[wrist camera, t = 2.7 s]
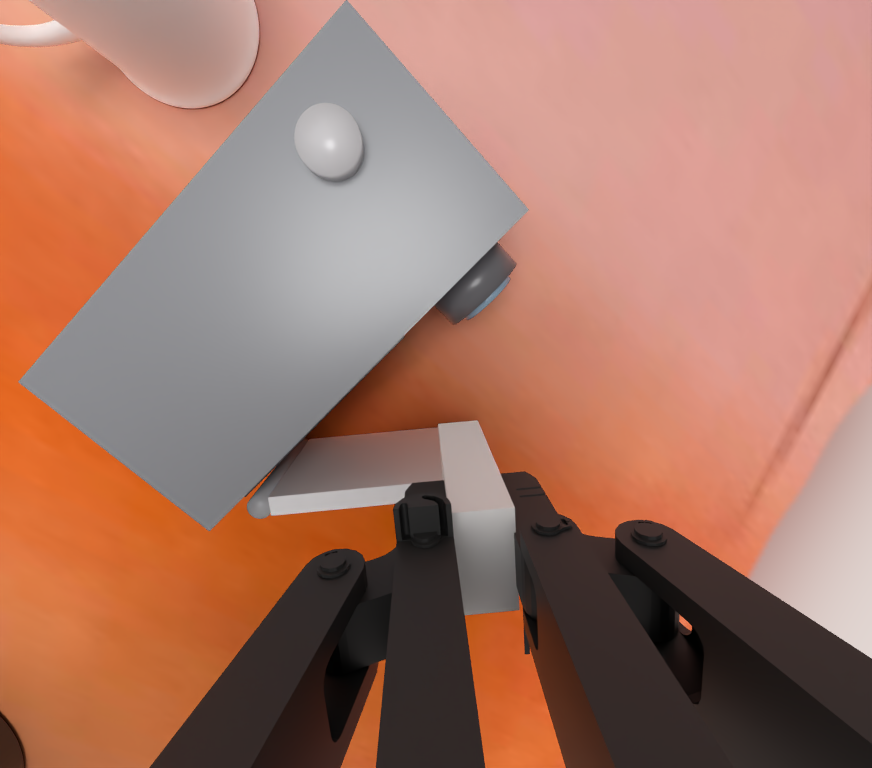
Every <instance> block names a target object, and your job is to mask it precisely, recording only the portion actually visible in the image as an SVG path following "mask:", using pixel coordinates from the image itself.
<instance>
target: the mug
mask: <svg viewBox="0 0 872 768" xmlns="http://www.w3.org/2000/svg"><path fill="white" fill-rule="evenodd" d="M29 1H30V2H32V3H33V4H34V5H36V6H37V7H38V8H40V9H41V10H42V11H44V12H45V13H46V14H48V15H49V16H50V17H52V18H53V19H54V20H53V21H51V22H47V23H43V24H37V25H26V26H14V25H3V24H0V44H5V45H11V46H20V47H50V46H58V45H64V44H69V43H73V42H77V41H81V40H82V41H84V42H85V43H86V44H88V45H89V46H90V47H92V48H93V49H94V50H96V51H97V52H98V53H100V54H101V55H102V56H104V57H105V58H106V59H108V60H109V61H110V62H112V63H113V64H114V65H116V66H117V67H118V68H119V69H120V70H121V71H122V72H123V73H124V74H125V76H126V77H127V78H128V79H129V80H130V81H131V82H132V83H133V84H134V85H136V86H137V87H138V88H139V89H140V90H142V91H143V92H144V93H146V94H147V95H149V96H151V97H152V98H154V99H156V100H158V101H160V102H163V103H165V104H168V105H171V106H175V107H180V108H203V107H208V106H212V105H215V104H217V103H219V102H221V101H223V100H225V99H227V98H228V97H230V96H231V95H232V94H233V93H235V92H236V91H237V90H238V89H239V88H240V87H241V85H242V84H243V83H244V82H245V80H246V79H247V77H248V75H249V74H250V72H251V70H252V67H253V65H254V62H255V59H256V56H257V51H258V45H259V21H258V14H257V9H256V5H255V2H254V0H29Z"/></svg>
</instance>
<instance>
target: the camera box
mask: <svg viewBox="0 0 872 768" xmlns="http://www.w3.org/2000/svg"><path fill="white" fill-rule="evenodd" d="M528 210H529V209H528V208H527V207H526V206H525V205H524V204H523V203H522V201H521V200H520V199H519V198H518V197H517V196H516V194H515V193H514V192H513V191H512V190H511V189H510V188H509V186H508V185H507V184H506V183H505V182H504V181H503V179H502V178H501V177H500V176H499V175H498V174H497V173H496V171H495V170H494V169H493V168H492V167H491V166H490V164H489V163H488V162H487V161H486V160H485V159H484V158H483V156H482V155H481V154H480V153H479V152H478V151H477V150H476V148H475V147H474V146H473V145H472V144H471V143H470V141H469V140H468V139H467V138H466V137H465V136H464V135H463V133H462V132H461V131H460V130H459V129H458V128H457V126H456V125H455V124H454V123H453V122H452V121H451V120H450V118H449V117H448V116H447V115H446V114H445V113H444V111H443V110H442V109H441V108H440V107H439V106H438V105H437V103H436V102H435V101H434V100H433V99H432V98H431V96H430V95H429V94H428V93H427V92H426V91H425V90H424V88H423V87H422V86H421V85H420V84H419V83H418V81H417V80H416V79H415V78H414V77H413V76H412V75H411V73H410V72H409V71H408V70H407V69H406V68H405V66H404V65H403V64H402V63H401V62H400V61H399V60H398V58H397V57H396V56H395V55H394V54H393V53H392V51H391V50H390V49H389V48H388V47H387V46H386V45H385V43H384V42H383V41H382V40H381V39H380V38H379V37H378V35H377V34H376V33H375V32H374V31H373V30H372V28H371V27H370V26H369V25H368V24H367V23H366V22H365V20H364V19H363V18H362V17H361V16H360V15H359V13H358V12H357V11H356V10H355V9H354V8H353V7H352V5H351V4H350V3H349V2H348V1H347V0H346V1H345V2H344V3H343V4H342V5H341V7H340V8H339V9H338V10H337V11H336V12H335V14H334V15H333V16H332V17H331V18H330V19H329V21H328V22H327V23H326V24H325V25H324V26H323V28H322V29H321V30H320V31H319V32H318V33H317V35H316V36H315V37H314V38H313V39H312V40H311V42H310V43H309V44H308V45H307V46H306V47H305V49H304V50H303V51H302V52H301V53H300V54H299V56H298V57H297V58H296V59H295V60H294V61H293V63H292V64H291V65H290V66H289V67H288V68H287V70H286V71H285V72H284V73H283V74H282V75H281V77H280V78H279V79H278V80H277V81H276V82H275V84H274V85H273V86H272V87H271V88H270V89H269V91H268V92H267V93H266V94H265V95H264V96H263V98H262V99H261V100H260V101H259V102H258V103H257V105H256V106H255V107H254V108H253V109H252V110H251V111H250V113H249V114H248V115H247V116H246V117H245V118H244V120H243V121H242V122H241V123H240V124H239V125H238V127H237V128H236V129H235V130H234V131H233V132H232V134H231V135H230V136H229V137H228V138H227V139H226V141H225V142H224V143H223V144H222V145H221V146H220V148H219V149H218V150H217V151H216V152H215V153H214V155H213V156H212V157H211V158H210V159H209V160H208V162H207V163H206V164H205V165H204V166H203V167H202V169H201V170H200V171H199V172H198V173H197V174H196V176H195V177H194V178H193V179H192V180H191V181H190V183H189V184H188V185H187V186H186V187H185V188H184V190H183V191H182V192H181V193H180V194H179V195H178V197H177V198H176V199H175V200H174V201H173V202H172V204H171V205H170V206H169V207H168V208H167V209H166V210H165V212H164V213H163V214H162V215H161V216H160V217H159V219H158V220H157V221H156V222H155V223H154V224H153V226H152V227H151V228H150V229H149V230H148V231H147V233H146V234H145V235H144V236H143V237H142V238H141V240H140V241H139V242H138V243H137V244H136V245H135V247H134V248H133V249H132V250H131V251H130V252H129V254H128V255H127V256H126V257H125V258H124V259H123V261H122V262H121V263H120V264H119V265H118V266H117V268H116V269H115V270H114V271H113V272H112V273H111V275H110V276H109V277H108V278H107V279H106V280H105V282H104V283H103V284H102V285H101V286H100V287H99V289H98V290H97V291H96V292H95V293H94V294H93V296H92V297H91V298H90V299H89V300H88V301H87V303H86V304H85V305H84V306H83V307H82V308H81V310H80V311H79V312H78V313H77V314H76V315H75V316H74V318H73V319H72V320H71V321H70V322H69V323H68V325H67V326H66V327H65V328H64V329H63V330H62V332H61V333H60V334H59V335H58V336H57V337H56V339H55V340H54V341H53V342H52V343H51V344H50V346H49V347H48V348H47V349H46V350H45V351H44V353H43V354H42V355H41V356H40V357H39V358H38V360H37V361H36V362H35V363H34V364H33V365H32V367H31V368H30V369H29V370H28V371H27V372H26V374H25V375H24V376H23V377H22V378H21V379H20V381H19V383H20V384H21V385H23V386H24V387H25V388H27V389H28V390H29V391H30V392H32V393H33V394H34V395H36V396H37V397H38V398H39V399H41V400H42V401H43V402H45V403H46V404H47V405H48V406H50V407H51V408H52V409H53V410H55V411H56V412H57V413H59V414H60V415H61V416H62V417H64V418H65V419H66V420H68V421H69V422H70V423H71V424H73V425H74V426H75V427H76V428H78V429H79V430H80V431H82V432H83V433H84V434H85V435H87V436H88V437H89V438H91V439H92V440H93V441H94V442H96V443H97V444H98V445H100V446H101V447H102V448H103V449H105V450H106V451H107V452H108V453H110V454H111V455H112V456H114V457H115V458H116V459H117V460H119V461H120V462H121V463H123V464H124V465H125V466H126V467H128V468H129V469H130V470H131V471H133V472H134V473H135V474H137V475H138V476H139V477H140V478H142V479H143V480H144V481H146V482H147V483H148V484H149V485H151V486H152V487H153V488H154V489H156V490H157V491H158V492H160V493H161V494H162V495H163V496H165V497H166V498H167V499H169V500H170V501H171V502H172V503H174V504H175V505H176V506H178V507H179V508H180V509H181V510H183V511H184V512H185V513H186V514H188V515H189V516H190V517H192V518H193V519H194V520H195V521H197V522H198V523H199V524H201V525H202V526H203V527H204V528H206V529H207V530H208V531H210V530H211V529H212V528H213V527H214V526H215V525H216V524H217V523H218V522H219V521H220V520H221V519H222V518H223V517H224V516H225V515H226V514H227V513H228V512H229V511H230V510H231V509H232V508H233V507H234V506H235V505H236V504H237V503H238V502H239V501H240V500H241V499H242V498H243V497H244V496H245V497H246V496H247V495H248V494H249V493H250V492H251V491H252V490H253V489H254V488H255V487H256V486H257V485H258V484H259V483H260V482H261V481H262V480H263V479H264V478H265V477H266V476H267V475H268V474H269V473H270V472H271V471H272V470H273V469H274V468H275V467H276V466H277V465H278V464H279V463H280V462H281V461H282V460H283V459H284V458H285V457H286V456H287V455H288V454H289V453H290V452H291V451H292V450H293V449H294V448H295V447H296V446H297V445H298V444H299V443H300V442H301V441H302V440H303V439H304V438H305V437H306V436H307V435H308V434H309V433H310V432H311V431H312V430H313V429H314V428H315V427H316V426H317V425H318V424H319V423H320V422H321V421H322V420H323V419H324V418H325V416H326V415H327V414H328V413H329V412H330V411H331V410H332V409H333V408H334V407H335V406H336V405H337V404H338V403H339V402H340V401H341V400H342V399H343V398H344V397H345V396H346V395H347V394H348V393H349V392H350V391H351V390H352V389H353V388H354V387H355V386H356V385H357V384H358V383H359V382H360V381H361V380H362V379H363V378H364V377H365V376H366V375H367V374H368V373H369V372H370V371H371V370H372V369H373V368H374V367H375V366H376V365H377V364H378V363H379V362H380V361H381V360H382V359H383V358H384V357H385V356H386V355H387V354H388V353H389V352H390V351H391V350H392V349H393V348H394V347H395V346H396V345H397V344H398V343H399V342H400V341H401V340H402V339H403V338H404V337H405V334H406V333H407V332H408V331H409V330H410V329H411V328H412V327H413V326H414V325H415V324H416V323H417V322H418V321H419V320H420V319H421V318H422V317H423V316H424V315H425V314H426V313H427V312H428V311H429V310H430V309H431V308H432V307H433V306H435V307H436V308H437V309H438V310H439V311H440V312H441V313H442V314H443V315H444V316H445V317H446V318H447V319H448V320H449V321H450V322H451V323H452V324H453V325H455V324H457V323H458V322H460V321H461V320H463V319H464V318H466V319H467V320H469V319H471V318H473V317H474V316H475V315H477V314H478V313H479V312H480V311H482V310H483V309H484V308H485V307H486V306H487V305H488V304H489V303H490V302H492V301H493V300H494V299H495V298H496V297H497V296H498V294H499V293H500V292H501V291H502V290H503V289H504V288H505V287H506V285H507V284H508V283H509V281H510V278H509V275H510V273H511V272H512V271H513V269H514V268H515V266H516V262H515V261H514V260H513V259H512V258H511V257H510V256H509V255H508V254H507V252H506V251H505V250H504V249H503V248H502V247H501V246H500V245H499V244H498V242H497V241H498V240H499V239H500V238H501V237H502V236H503V235H504V234H505V233H506V232H507V231H508V230H509V229H510V228H511V227H512V226H513V225H514V224H515V223H516V222H517V221H518V220H519V219H520V218H521V217H522V216H523V215H524V214H525V213H526V212H527V211H528Z"/></svg>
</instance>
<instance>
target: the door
mask: <svg viewBox="0 0 872 768" xmlns="http://www.w3.org/2000/svg"><path fill="white" fill-rule="evenodd" d="M439 480H443V477H442V465H441V453H440V441H439V429H438V427H435V428H424V429H413V430H402V431H391V432H380V433H369V434H358V435H348V436H337V437H326V438H315V439H309V440H308V439H305V438H304V439H303V440H302V441H301V442H300V443H299V444H298V445H297V446H296V447H295V448H294V449H293V450H292V451H291V452H290V453H289V454H288V455H287V456H286V457H285V458H284V459H283V460H282V461H281V462H280V463H279V464H278V465H277V466H276V467H275V469H274V470H273V471H272V473H271V474H270V475H269V476H268V478H267V479H266V480H265V481H264V483H263V484H262V485H261V486H260V488H259V489H258V490H257V491H256V493H255V494H254V495H253V497H252V498H251V499H250V500H249V502H248V504H247V510H248V512H249V514H250V515H251V516H253V517H255V518H258V519H262V518H265V517H267V516H269V514H270V513H271V516H274V515H285V514H295V513H305V512H316V511H326V510H337V509H347V508H357V507H368V506H378V505H388V504H396V503H397V502H398V501H400V500H401V499H402V498H404V497H405V491H406V489H407V488H408V487H409V486H410V485H411V484H412V483H416V482H428V481H439Z"/></svg>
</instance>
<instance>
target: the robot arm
mask: <svg viewBox="0 0 872 768" xmlns="http://www.w3.org/2000/svg"><path fill="white" fill-rule="evenodd" d="M438 429H439V441H440V453H441V465H442V477H443V480H439V481H428V482H416V483H412V484H411V485H410V486H409V487H408V488H407V489H406V491H405V497H404V498H402V499H401V500H400V501H398V502H397V503H396V504H395V506H394V508H393V513H394V522H395V531H396V539H397V544H396V548H394V549H393V550H392V551H391V552H389V553H387V554H386V555H384V556H382V557H379V558H376V559H373V560H370V561H367V562H365V560H364V558H363V555H362V554H360V553H359V552H357V551H355V550H350V549H335V550H331V551H327V552H324V553H322V554H320V555H319V556H317V557H315V558H313V559H312V560H311V561H310V562H309V563H308V564H307V565H306V566H305V567H304V568H303V570H302V571H301V572H300V573H299V575H298V576H297V577H296V579H295V580H294V581H293V583H292V584H291V585H290V586H289V588H288V589H287V590H286V592H285V593H284V594H283V596H282V597H281V598H280V599H279V601H278V602H277V603H276V605H275V606H274V607H273V608H272V610H271V611H270V612H269V614H268V615H267V616H266V618H265V619H264V620H263V621H262V623H261V624H260V625H259V627H258V628H257V629H256V630H255V632H254V633H253V634H252V636H251V637H250V638H249V640H248V641H247V642H246V643H245V645H244V646H243V647H242V649H241V650H240V651H239V653H238V654H237V655H236V656H235V658H234V659H233V660H232V662H231V663H230V664H229V665H228V667H227V668H226V669H225V671H224V672H223V673H222V675H221V676H220V677H219V678H218V680H217V681H216V682H215V684H214V685H213V686H212V687H211V689H210V690H209V691H208V693H207V694H206V695H205V697H204V698H203V699H202V700H201V702H200V703H199V704H198V706H197V707H196V708H195V709H194V711H193V712H192V713H191V715H190V716H189V717H188V719H187V720H186V721H185V722H184V724H183V725H182V726H181V728H180V729H179V730H178V732H177V733H176V734H175V735H174V737H173V738H172V739H171V741H170V742H169V743H168V744H167V746H166V747H165V748H164V750H163V751H162V752H161V754H160V755H159V756H158V757H157V759H156V760H155V761H154V763H153V764H152V765H151V766H150V768H340V767H341V765H342V762H343V760H344V757H345V754H346V752H347V749H348V747H349V744H350V741H351V739H352V736H353V733H354V731H355V728H356V726H357V723H358V720H359V718H360V715H361V712H362V710H363V707H364V705H365V702H366V699H367V697H368V694H369V691H370V689H371V686H372V684H373V681H374V678H375V676H376V673H377V668H378V662H379V661H381V660H384V659H386V664H385V675H384V686H383V697H382V708H381V718H380V729H379V740H378V751H377V762H376V768H485V763H484V755H483V748H482V741H481V733H480V726H479V719H478V711H477V704H476V696H475V689H474V682H473V674H472V667H471V660H470V652H469V645H468V638H467V630H466V623H465V615H472V614H483V613H493V612H504V611H514V610H519V596H520V599H521V602H522V605H523V620H524V644H525V654H530V649H531V652H532V656H533V659H534V662H535V666H536V669H537V672H538V676H539V679H540V682H541V686H542V689H543V692H544V696H545V699H546V702H547V706H548V709H549V712H550V716H551V719H552V722H553V726H554V729H555V732H556V736H557V739H558V743H559V746H560V749H561V753H562V756H563V759H564V763H565V766H566V768H872V659H871V658H870V657H868V656H867V655H865V654H864V653H862V652H861V651H859V650H857V649H856V648H854V647H853V646H851V645H850V644H848V643H847V642H845V641H844V640H842V639H840V638H839V637H837V636H836V635H834V634H833V633H831V632H829V631H828V630H827V629H825V628H823V627H822V626H820V625H819V624H817V623H816V622H814V621H813V620H811V619H810V618H808V617H807V616H805V615H804V614H802V613H801V612H799V611H797V610H796V609H794V608H793V607H791V606H790V605H788V604H787V603H785V602H784V601H782V600H781V599H779V598H777V597H776V596H774V595H773V594H771V593H770V592H768V591H767V590H765V589H764V588H762V587H760V586H759V585H758V584H756V583H754V582H753V581H751V580H750V579H748V578H747V577H745V576H744V575H742V574H741V573H739V572H738V571H736V570H734V569H733V568H731V567H730V566H728V565H727V564H725V563H724V562H722V561H721V560H719V559H718V558H716V557H714V556H713V555H711V554H710V553H708V552H707V551H705V550H704V549H702V548H701V547H699V546H698V545H696V544H694V543H693V542H691V541H690V540H688V539H687V538H685V537H684V536H682V535H681V534H679V533H678V532H676V531H674V530H673V529H671V528H669V527H667V526H665V525H663V524H659V523H655V522H652V521H648V520H645V521H644V520H634V521H626V522H624V523H622V524H620V525H619V526H618V527H617V528H616V530H615V539H613V538H603V537H595V536H589V535H585V534H582V533H581V531H580V530H579V528H578V527H577V525H576V524H575V523H574V522H573V521H572V520H571V519H569V518H567V517H565V516H563V515H559V514H557V512H556V510H555V509H554V507H553V505H552V504H551V502H550V500H549V499H548V497H547V495H545V492H544V490H543V489H542V488H541V486H540V484H539V482H538V481H537V479H536V478H535V477H533V476H532V475H530V474H528V473H527V472H514V473H503V474H500V472H499V469H498V467H497V465H496V462H495V460H494V458H493V455H492V453H491V451H490V448H489V446H488V444H487V441H486V439H485V436H484V434H483V432H482V429H481V427H480V425H479V422H478V420H476V421H465V422H453V423H442V424H438ZM518 593H519V594H518ZM679 614H680V615H681V616H682V617H683V618H684V619H686V620H687V621H688V622H689V623H690V624H691V625H692V631H690V630H688V629H687V628H686V627H684V626H683V625H682V624H681V623H680V622H679ZM0 768H24V762H23V755H22V751H21V748H20V745H19V743H18V741H17V739H16V737H15V735H14V733H13V732H12V730H11V729H10V727H9V726H8V725H7V723H6V722H5V721H4V720H3V719H2V718H1V717H0Z"/></svg>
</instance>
